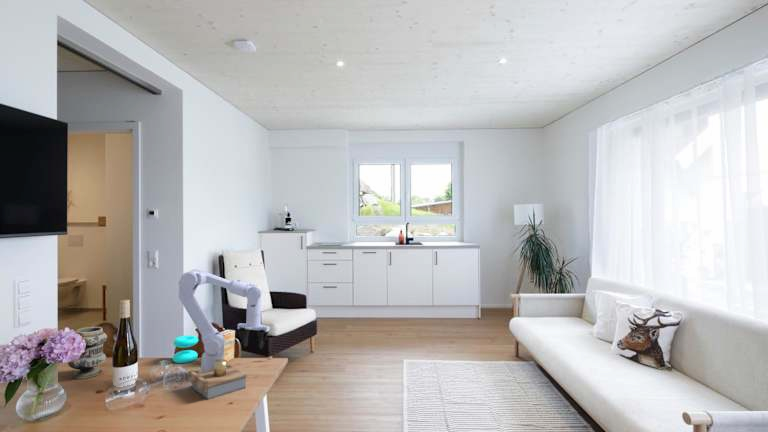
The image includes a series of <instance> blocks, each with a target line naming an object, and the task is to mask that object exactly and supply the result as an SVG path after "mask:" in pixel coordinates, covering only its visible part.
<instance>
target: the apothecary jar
mask: <svg viewBox="0 0 768 432" xmlns="http://www.w3.org/2000/svg"><path fill="white" fill-rule="evenodd" d="M76 332H77V333H78V334H80V335H81V336H82V337H83V339H84V340H85V341H86V349H85V352H84V353H83V354H82V356H81V357H80V358H79V359H78V360H76V361H73V362H68V361H67V365H68V367H70V368H72V369H74V370H77V371H75V372H73V373H72V374H71V375H70V378H71V379H73V380H83V379H84V380H85V379H89V378H94V377H96V376H98V375H100V374H102V372H103V370H102V369H100V368H97V367H98V366H101V365H103V363H105V361H106V359H107V356H106V354H105V353H104V352H103V351H104V343H105V342H106V341H107V339H108V335H107V334H106V333H105V332H104V330H103V327H101V326H89V327H87V326H86V327H82V328H78V329H77V330H76V331H75V333H76Z"/></svg>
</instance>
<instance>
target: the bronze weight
mask: <svg viewBox="0 0 768 432" xmlns="http://www.w3.org/2000/svg"><path fill="white" fill-rule="evenodd" d="M227 366H228V362H227V360H225V359H219V360H216V361H214V373H213V376H215V377H222V376H225V375H226V367H227Z"/></svg>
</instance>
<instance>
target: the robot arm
mask: <svg viewBox="0 0 768 432" xmlns="http://www.w3.org/2000/svg"><path fill="white" fill-rule="evenodd" d="M205 284H210V285H214V286H216V287H217V286H218V287H221V288H224V289H227V290H228V292H229V293H230V294H234V295H236V296H239V297H242V298H246V299H247V301H246V320H245V321H246V323H243V322H242V323H241V322H240V323H238V324H237V335H239V337H240V340H241V343H242V347H243V348H246V347H248V345H249V334H250V331H258V332H256V335H257V336H256V337H257V340H258V343H257V346H258V348H257V349H258V350H261V349H264V345H265V341H266V338H267V337H268V334H269V333H270V330H271V329H270V328H271V327H270V326H269V325H265V324H261V319H262V317H261V316H262V303H261V302H262V298H261V297H262V293H263V292H262V288H261V287H260V286H259V285H258V284H253V283H247V282H244V281H242V279H241V278H238V279H233V280H229V279H226V278H223V277H220V276H217V275H215V274H213V273H209V272H207V271H203V270H199V269H192V270H190V271H187V272H184V273H183V274H182V275H181V277H180V279H179V281H178V299H179V300H180V302H181V304H182V306H183V308H184V310H186V312H187V314H188V316H189V317H190V319H191V321H192V322H193V323H194V325H195V327H196V329H197V330H198V332H199V333H200V335H201V342H202V343H203V350H204V352H203V353H202V355H201V357H200V358H201V361H200V370H199V371H198V372H197V373H200V372H204V371H208V370H212V369H214V361H216V360H219V359H224V350H223V348H222V346H223V345H224V343H225V338H224V336H223V335H222V334H220V332H219V331H218V329H217V328H215V327H214V326H213V324H212V323H211V321H210V320H209V318H208V316H207V314H206V313H205V311H204V310H203V307H202V306H201V304H200V303H199V301H198V299H197V298H196V296H195V293H196V291H197V288H198V286H200V285H205Z"/></svg>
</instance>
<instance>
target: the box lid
mask: <svg viewBox="0 0 768 432" xmlns="http://www.w3.org/2000/svg"><path fill="white" fill-rule="evenodd" d="M213 373H214V369H212V370H208V371H204V372H200V373H198V372H195V371H194V370H189V371H188V378H187V380H188V381H189V382H190V383H191V384H192V383H193V384H194V385H195V386H197V387H198V388H199V389H200V390H202V391H203V392H207V391H208V388H209V387H213V386H216V385H220V384H223V383H227V382H230V381H234V380H237V379H241V378H244V377H246V378H247V374H245V373H243V372H242V371H240V370H238V369H237V368H235V367H233V366H232V365H230V364H229V365H228V364H227V367H226V375H225V376H222V377H215V376H213Z"/></svg>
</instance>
